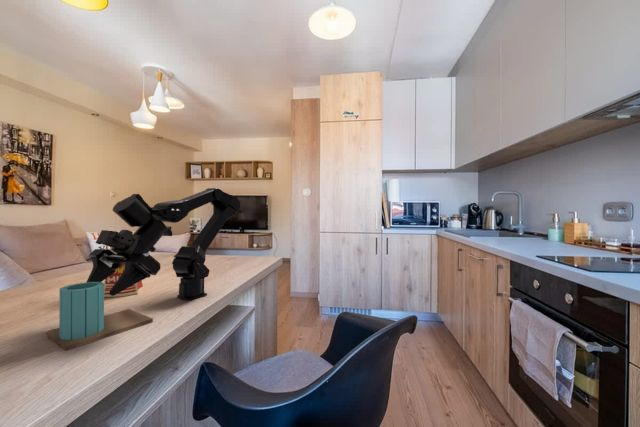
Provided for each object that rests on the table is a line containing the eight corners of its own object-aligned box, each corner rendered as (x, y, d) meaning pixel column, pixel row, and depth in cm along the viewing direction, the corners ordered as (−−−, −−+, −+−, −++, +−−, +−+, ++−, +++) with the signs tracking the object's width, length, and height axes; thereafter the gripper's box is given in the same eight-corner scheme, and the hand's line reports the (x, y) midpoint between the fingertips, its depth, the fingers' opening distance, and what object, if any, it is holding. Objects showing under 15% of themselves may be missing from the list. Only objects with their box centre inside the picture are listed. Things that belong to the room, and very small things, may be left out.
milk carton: (112, 290, 91) (112, 231, 91) (143, 287, 94) (144, 231, 94) (101, 298, 82) (101, 233, 82) (136, 295, 86) (136, 233, 85)
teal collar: (82, 324, 62) (82, 281, 62) (111, 326, 61) (112, 282, 61) (49, 339, 55) (49, 290, 55) (82, 340, 54) (82, 291, 54)
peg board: (129, 311, 72) (129, 294, 72) (152, 321, 66) (152, 302, 65) (46, 335, 58) (46, 313, 58) (65, 350, 52) (65, 325, 52)
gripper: (97, 217, 69) (41, 268, 59) (148, 218, 62) (94, 277, 52) (129, 244, 76) (84, 294, 66) (178, 248, 69) (135, 304, 59)
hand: (97, 292), depth 61 cm, fingers open, 9 cm apart
